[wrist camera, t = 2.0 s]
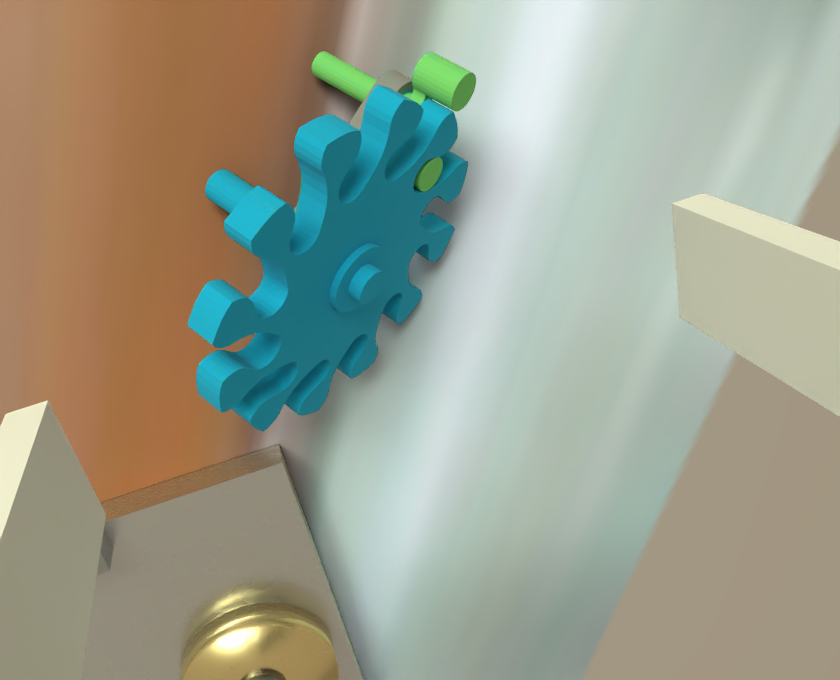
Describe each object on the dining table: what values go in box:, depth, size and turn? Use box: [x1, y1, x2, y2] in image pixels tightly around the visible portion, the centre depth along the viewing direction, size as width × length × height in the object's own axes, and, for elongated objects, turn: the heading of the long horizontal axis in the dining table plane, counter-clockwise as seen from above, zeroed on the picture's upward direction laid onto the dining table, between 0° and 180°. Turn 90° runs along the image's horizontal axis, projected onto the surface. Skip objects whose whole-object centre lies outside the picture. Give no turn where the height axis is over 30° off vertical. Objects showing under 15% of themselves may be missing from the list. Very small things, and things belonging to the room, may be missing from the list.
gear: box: [187, 51, 476, 431], centre depth 21 cm, size 11×6×10 cm
